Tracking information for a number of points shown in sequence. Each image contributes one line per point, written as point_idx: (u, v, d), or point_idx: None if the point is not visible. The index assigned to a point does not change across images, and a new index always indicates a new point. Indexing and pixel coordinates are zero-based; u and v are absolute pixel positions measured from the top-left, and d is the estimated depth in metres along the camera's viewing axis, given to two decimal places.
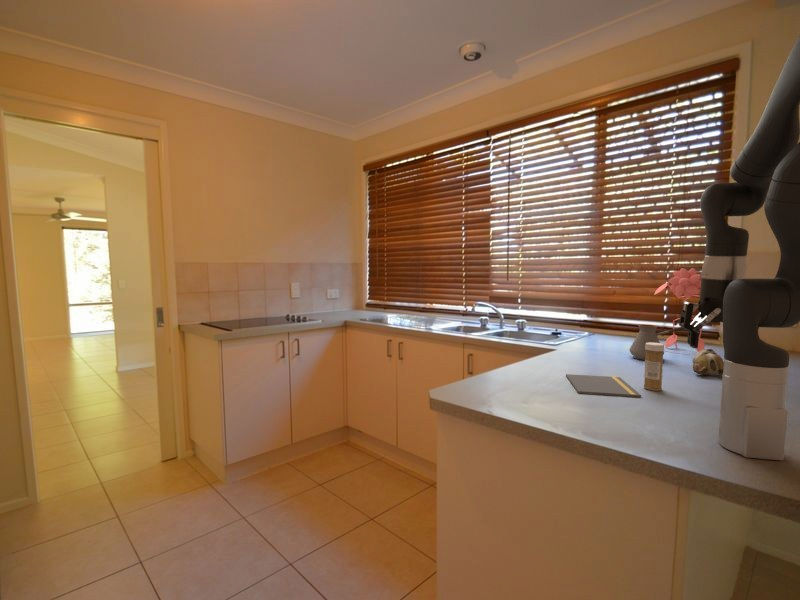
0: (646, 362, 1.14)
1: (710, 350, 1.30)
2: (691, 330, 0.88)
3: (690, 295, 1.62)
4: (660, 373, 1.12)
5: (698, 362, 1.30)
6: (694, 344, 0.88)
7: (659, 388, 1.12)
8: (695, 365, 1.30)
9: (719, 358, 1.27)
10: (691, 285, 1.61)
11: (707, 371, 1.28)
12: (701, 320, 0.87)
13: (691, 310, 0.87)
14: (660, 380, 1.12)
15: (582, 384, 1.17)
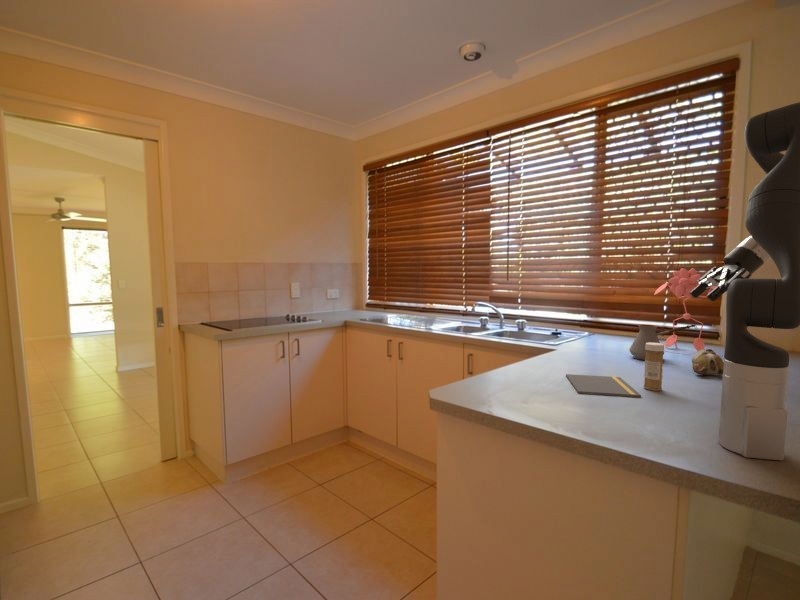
0: (646, 362, 1.14)
1: (710, 350, 1.30)
2: None
3: (690, 295, 1.62)
4: (660, 373, 1.12)
5: (698, 362, 1.30)
6: None
7: (659, 388, 1.12)
8: (695, 365, 1.29)
9: (719, 358, 1.27)
10: (691, 285, 1.61)
11: (707, 371, 1.28)
12: None
13: (711, 270, 1.14)
14: (660, 380, 1.12)
15: (582, 384, 1.17)
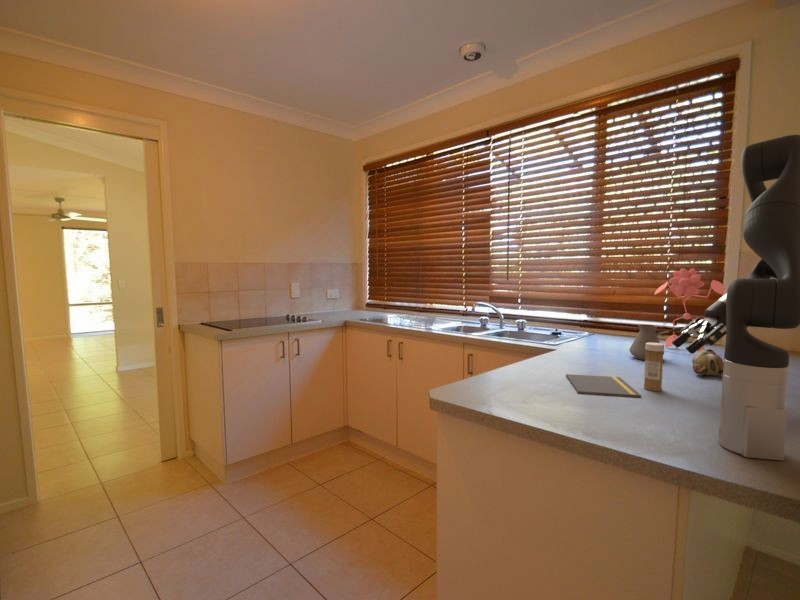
0: (646, 362, 1.14)
1: (710, 350, 1.29)
2: None
3: (690, 295, 1.62)
4: (660, 373, 1.12)
5: (698, 362, 1.30)
6: None
7: (659, 388, 1.12)
8: (695, 365, 1.29)
9: (719, 358, 1.26)
10: (691, 285, 1.61)
11: (707, 371, 1.27)
12: None
13: (693, 321, 1.16)
14: (660, 380, 1.12)
15: (582, 384, 1.17)
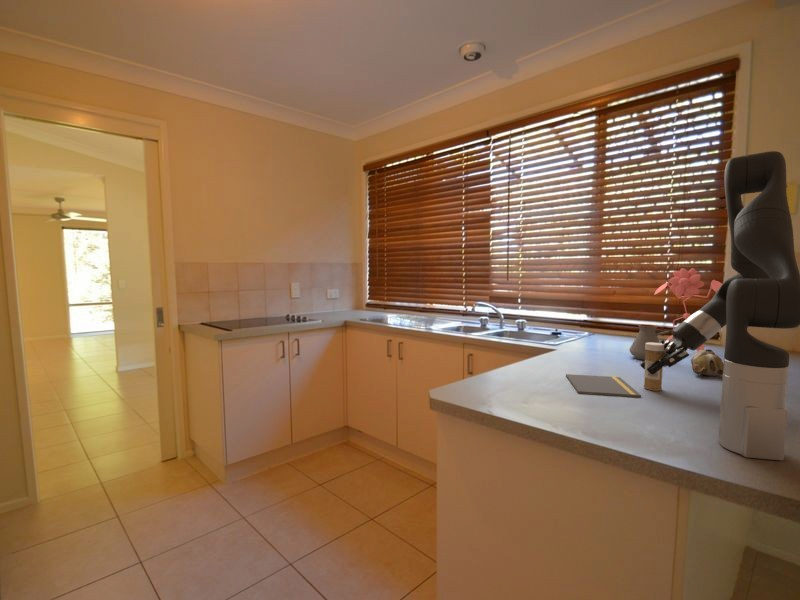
0: (646, 362, 1.14)
1: (709, 350, 1.29)
2: None
3: (690, 295, 1.62)
4: (660, 373, 1.12)
5: (697, 362, 1.30)
6: None
7: (659, 388, 1.12)
8: (694, 366, 1.29)
9: (718, 358, 1.26)
10: (691, 285, 1.61)
11: (706, 371, 1.27)
12: None
13: None
14: (660, 380, 1.12)
15: (582, 384, 1.17)
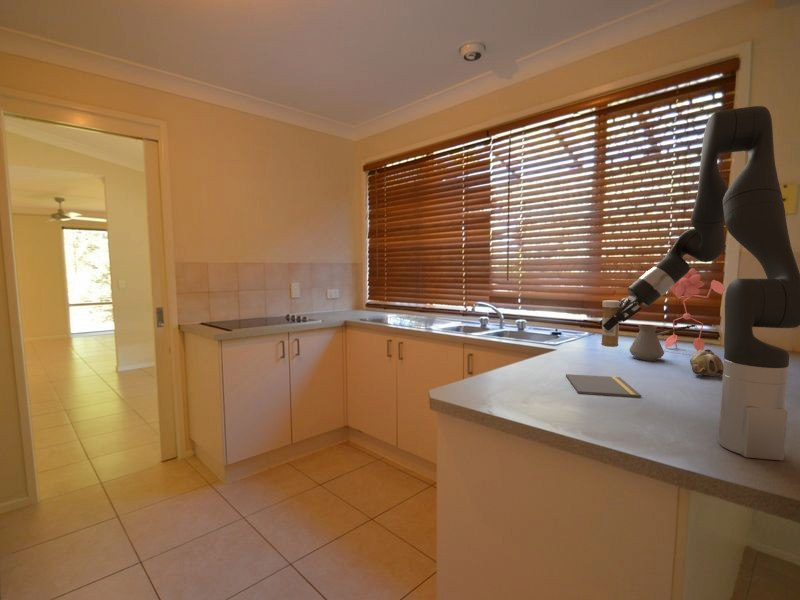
0: (603, 319, 1.16)
1: (708, 350, 1.29)
2: None
3: (690, 295, 1.62)
4: (616, 329, 1.14)
5: (697, 363, 1.29)
6: None
7: (615, 344, 1.14)
8: (694, 366, 1.29)
9: (718, 358, 1.26)
10: (691, 285, 1.61)
11: (706, 372, 1.27)
12: None
13: None
14: (616, 336, 1.14)
15: (582, 384, 1.17)
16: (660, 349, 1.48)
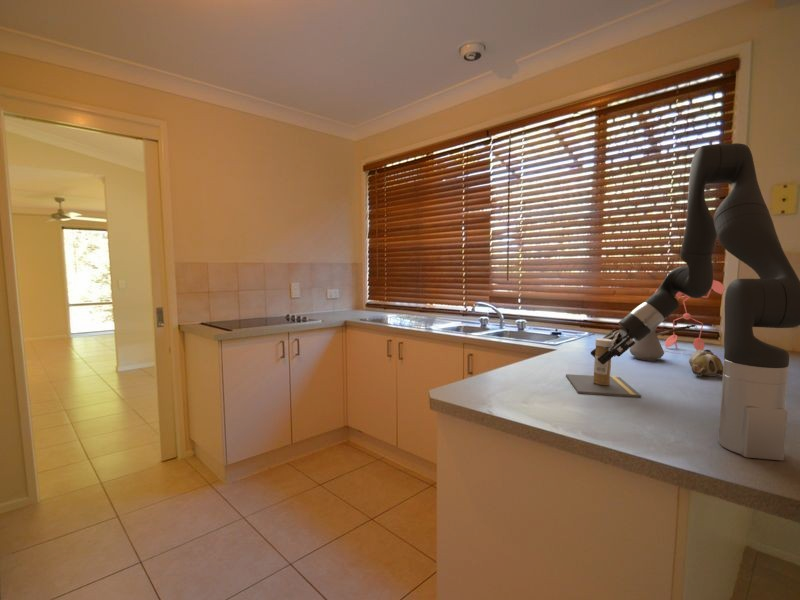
0: (595, 357, 1.17)
1: (708, 351, 1.29)
2: None
3: None
4: (608, 368, 1.15)
5: (696, 363, 1.29)
6: None
7: (607, 383, 1.15)
8: (694, 366, 1.28)
9: (717, 359, 1.26)
10: None
11: (706, 372, 1.27)
12: None
13: (610, 332, 1.21)
14: (608, 375, 1.15)
15: (582, 384, 1.17)
16: (660, 349, 1.48)
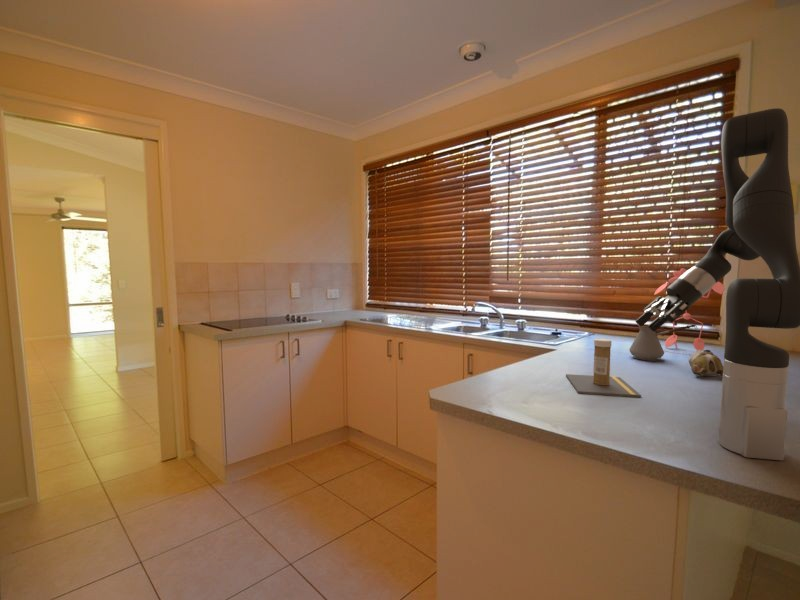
0: (594, 358, 1.17)
1: (708, 351, 1.29)
2: None
3: None
4: (607, 368, 1.15)
5: (696, 363, 1.29)
6: None
7: (606, 383, 1.15)
8: (694, 366, 1.28)
9: (717, 359, 1.26)
10: None
11: (706, 372, 1.27)
12: None
13: (656, 300, 1.18)
14: (607, 375, 1.15)
15: (582, 384, 1.17)
16: (660, 349, 1.48)
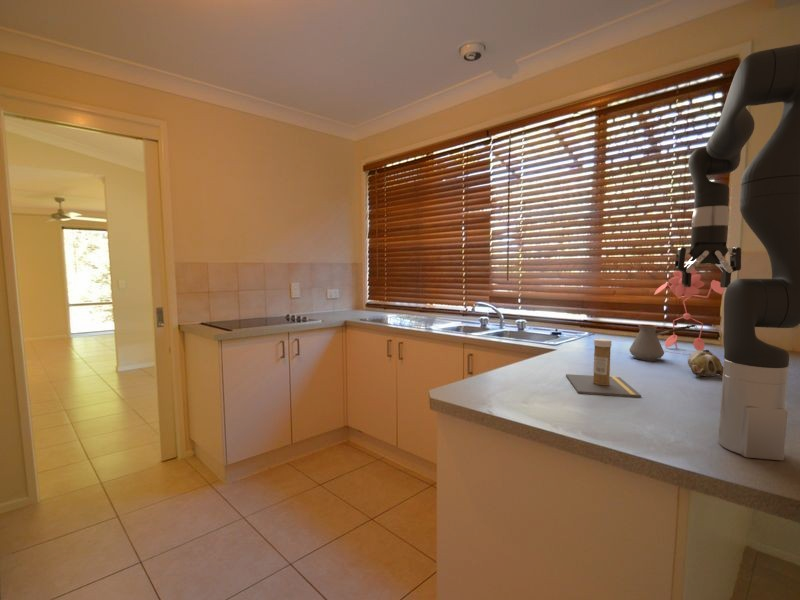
0: (594, 358, 1.17)
1: (707, 351, 1.29)
2: (684, 271, 1.04)
3: (690, 295, 1.62)
4: (607, 368, 1.15)
5: (696, 363, 1.29)
6: (687, 283, 1.04)
7: (606, 383, 1.15)
8: (693, 366, 1.28)
9: (717, 359, 1.26)
10: (691, 285, 1.61)
11: (705, 372, 1.26)
12: (692, 262, 1.03)
13: (684, 254, 1.04)
14: (607, 375, 1.15)
15: (582, 384, 1.17)
16: (660, 349, 1.48)
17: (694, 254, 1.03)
